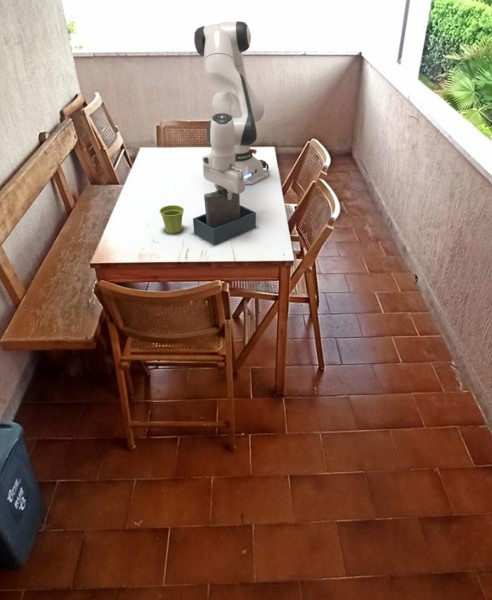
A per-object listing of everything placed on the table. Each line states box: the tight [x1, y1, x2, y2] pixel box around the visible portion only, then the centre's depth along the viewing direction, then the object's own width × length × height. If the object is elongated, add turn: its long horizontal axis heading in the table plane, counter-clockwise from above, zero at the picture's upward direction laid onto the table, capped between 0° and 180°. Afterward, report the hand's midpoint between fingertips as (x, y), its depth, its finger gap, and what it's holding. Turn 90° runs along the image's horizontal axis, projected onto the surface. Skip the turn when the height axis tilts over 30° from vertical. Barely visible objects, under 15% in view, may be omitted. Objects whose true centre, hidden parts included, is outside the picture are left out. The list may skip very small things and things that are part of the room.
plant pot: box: [158, 204, 185, 234], centre depth 190 cm, size 9×9×9 cm
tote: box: [192, 204, 257, 246], centre depth 191 cm, size 22×13×7 cm, turn 133°
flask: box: [203, 186, 241, 228], centre depth 187 cm, size 4×14×18 cm, turn 118°
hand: (224, 197), depth 185 cm, fingers closed on flask, 4 cm apart
